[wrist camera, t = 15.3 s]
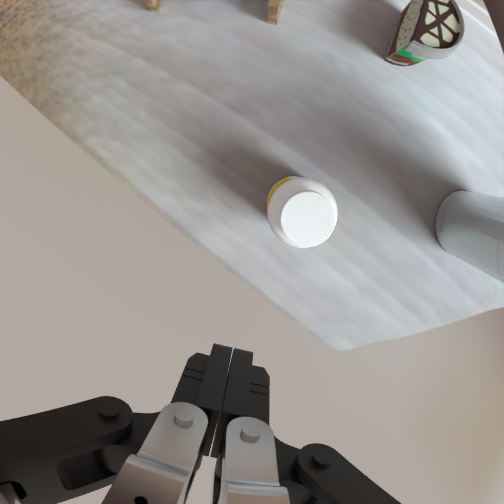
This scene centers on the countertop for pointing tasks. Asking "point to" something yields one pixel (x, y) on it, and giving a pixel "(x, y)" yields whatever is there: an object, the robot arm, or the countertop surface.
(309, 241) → the supplement bottle
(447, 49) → the food container
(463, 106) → the countertop surface
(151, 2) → the bay
